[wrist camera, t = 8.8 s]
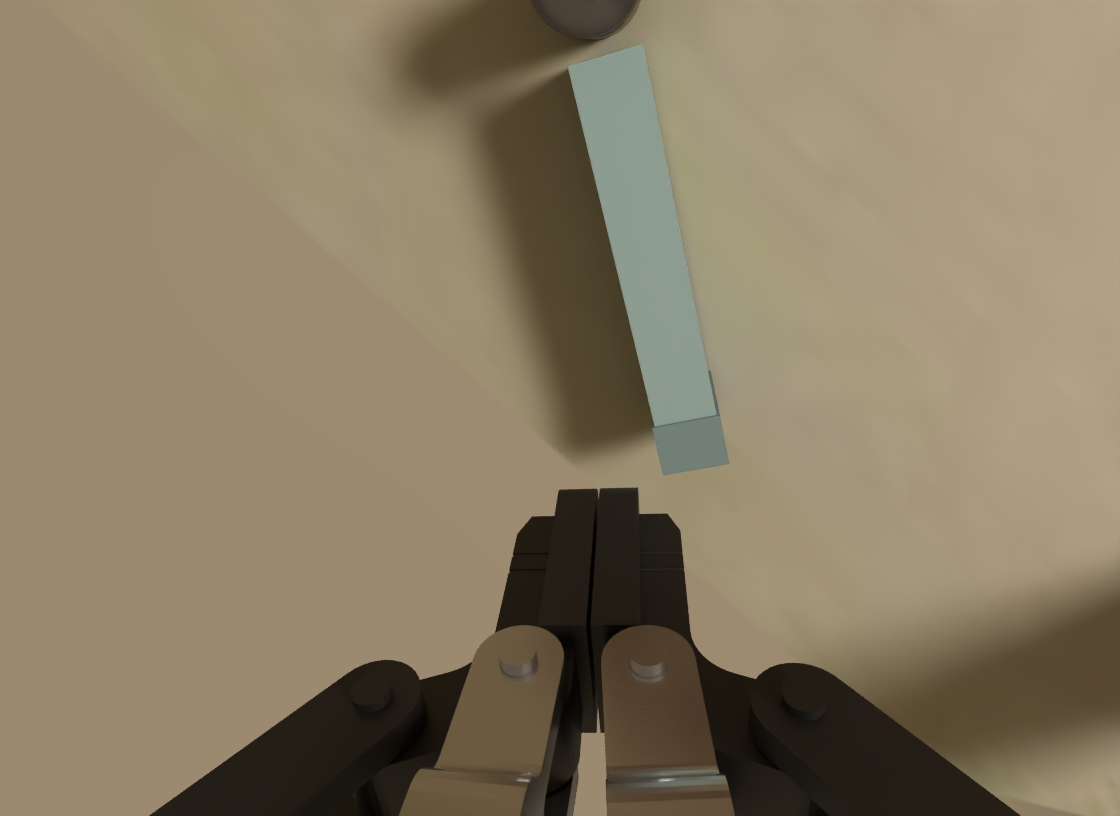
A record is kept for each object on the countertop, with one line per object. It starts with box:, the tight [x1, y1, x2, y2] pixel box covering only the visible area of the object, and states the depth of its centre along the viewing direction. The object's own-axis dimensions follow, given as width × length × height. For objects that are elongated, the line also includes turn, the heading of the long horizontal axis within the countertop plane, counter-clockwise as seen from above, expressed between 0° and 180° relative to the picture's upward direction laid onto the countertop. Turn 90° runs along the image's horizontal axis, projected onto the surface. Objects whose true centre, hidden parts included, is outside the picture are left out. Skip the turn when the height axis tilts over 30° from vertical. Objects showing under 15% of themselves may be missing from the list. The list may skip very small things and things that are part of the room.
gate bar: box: [568, 44, 729, 475], centre depth 25 cm, size 14×2×4 cm, turn 15°
